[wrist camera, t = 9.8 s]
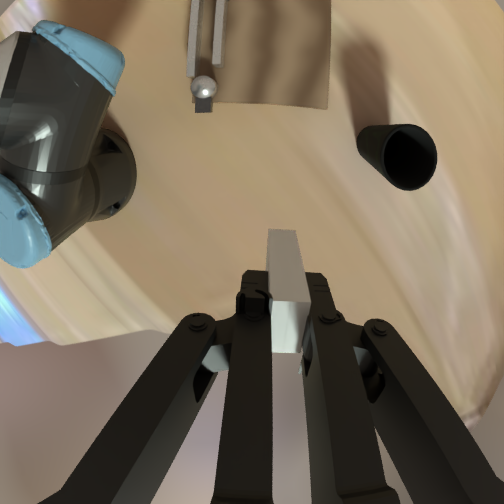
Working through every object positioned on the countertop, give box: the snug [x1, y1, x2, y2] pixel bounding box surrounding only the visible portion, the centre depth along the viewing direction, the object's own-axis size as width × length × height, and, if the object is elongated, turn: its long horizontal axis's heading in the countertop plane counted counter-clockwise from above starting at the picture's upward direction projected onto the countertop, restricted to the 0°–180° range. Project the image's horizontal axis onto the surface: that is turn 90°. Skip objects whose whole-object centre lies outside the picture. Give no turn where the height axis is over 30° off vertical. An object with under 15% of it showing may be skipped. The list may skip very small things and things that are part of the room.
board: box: [192, 0, 331, 110], centre depth 31 cm, size 18×18×2 cm
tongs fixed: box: [187, 0, 218, 113], centre depth 29 cm, size 4×20×3 cm, turn 178°
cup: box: [357, 124, 437, 191], centre depth 32 cm, size 8×8×12 cm
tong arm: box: [212, 0, 229, 68], centre depth 27 cm, size 1×13×3 cm, turn 178°
